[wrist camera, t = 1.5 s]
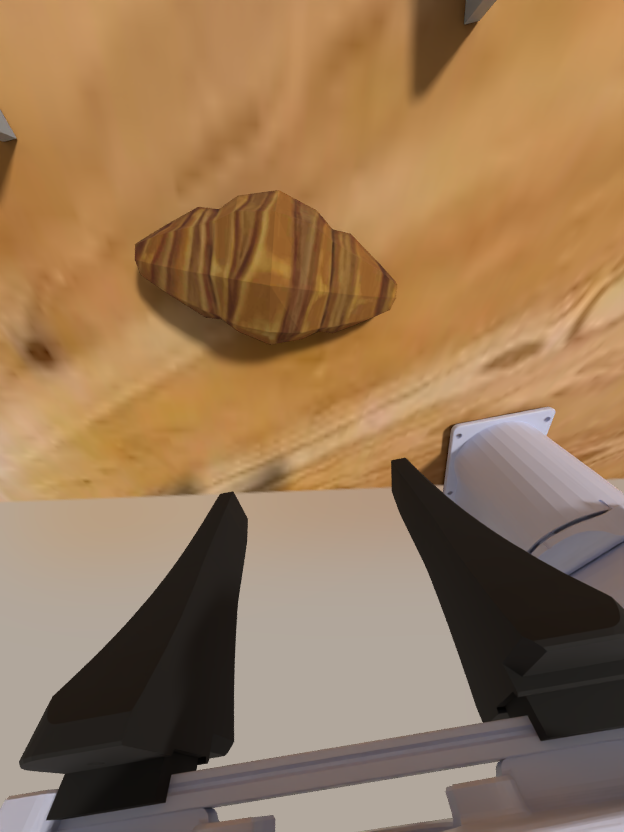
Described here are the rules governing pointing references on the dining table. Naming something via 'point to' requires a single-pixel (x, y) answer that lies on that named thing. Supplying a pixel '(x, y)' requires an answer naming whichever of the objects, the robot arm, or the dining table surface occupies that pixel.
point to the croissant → (266, 268)
